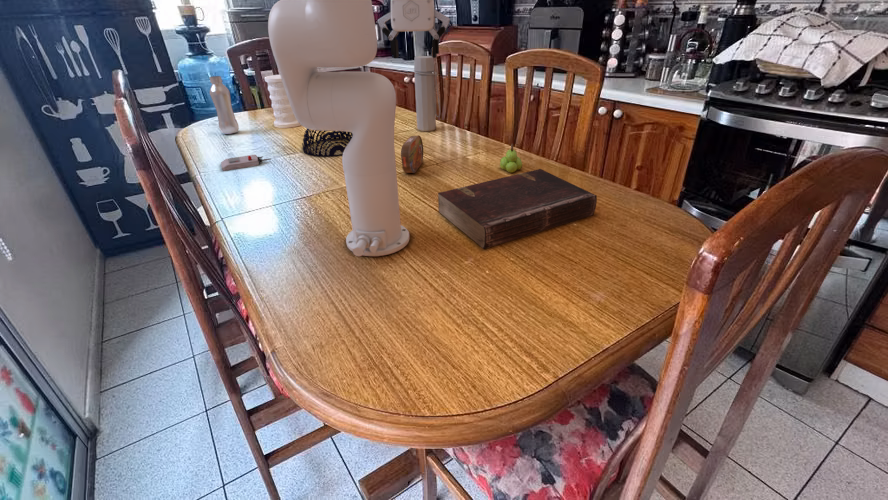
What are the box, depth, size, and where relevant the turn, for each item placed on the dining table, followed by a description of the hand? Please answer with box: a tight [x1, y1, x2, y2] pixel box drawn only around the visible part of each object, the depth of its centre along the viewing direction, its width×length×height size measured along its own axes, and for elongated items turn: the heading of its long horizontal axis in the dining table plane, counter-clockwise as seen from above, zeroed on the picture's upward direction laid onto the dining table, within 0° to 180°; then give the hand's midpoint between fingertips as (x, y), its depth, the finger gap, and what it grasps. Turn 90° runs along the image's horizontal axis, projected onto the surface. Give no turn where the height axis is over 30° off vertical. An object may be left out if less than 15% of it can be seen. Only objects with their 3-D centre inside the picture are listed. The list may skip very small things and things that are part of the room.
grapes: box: [499, 143, 523, 174], centre depth 117 cm, size 9×6×7 cm, turn 174°
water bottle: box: [413, 55, 441, 132], centre depth 150 cm, size 9×8×25 cm
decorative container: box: [264, 74, 302, 129], centre depth 163 cm, size 12×12×18 cm
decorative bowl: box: [301, 128, 353, 158], centre depth 136 cm, size 20×20×14 cm
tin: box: [400, 135, 424, 174], centre depth 118 cm, size 15×3×8 cm, turn 168°
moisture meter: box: [220, 154, 272, 172], centre depth 126 cm, size 7×16×3 cm, turn 117°
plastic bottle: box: [208, 75, 240, 135], centre depth 153 cm, size 6×7×20 cm
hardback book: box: [437, 168, 598, 250], centre depth 92 cm, size 29×19×5 cm, turn 119°
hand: (415, 57), depth 103 cm, fingers open, 9 cm apart
